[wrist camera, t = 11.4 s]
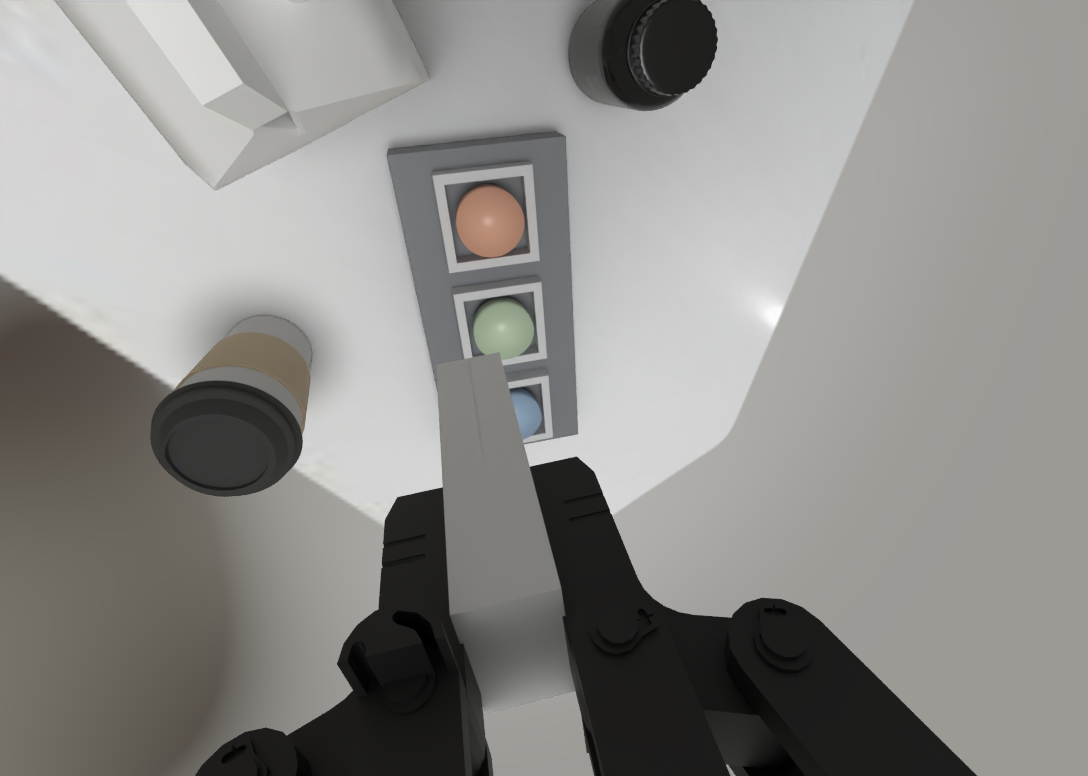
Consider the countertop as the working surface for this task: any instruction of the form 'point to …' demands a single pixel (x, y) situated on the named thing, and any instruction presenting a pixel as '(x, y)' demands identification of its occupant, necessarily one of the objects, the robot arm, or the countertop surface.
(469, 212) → the button terracotta
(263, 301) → the countertop surface
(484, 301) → the panel
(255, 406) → the coffee cup
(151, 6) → the milk
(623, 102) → the supplement bottle
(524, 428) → the button slate
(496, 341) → the button sage
